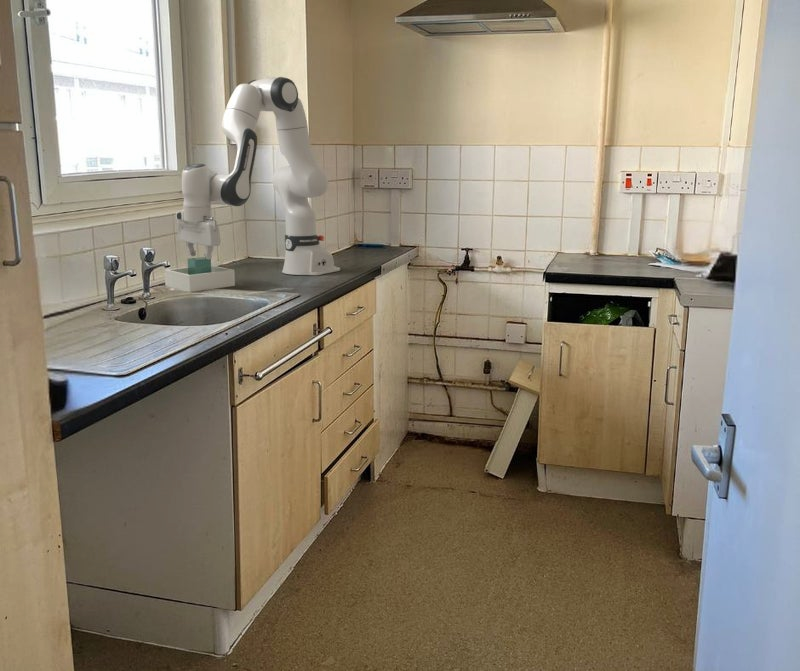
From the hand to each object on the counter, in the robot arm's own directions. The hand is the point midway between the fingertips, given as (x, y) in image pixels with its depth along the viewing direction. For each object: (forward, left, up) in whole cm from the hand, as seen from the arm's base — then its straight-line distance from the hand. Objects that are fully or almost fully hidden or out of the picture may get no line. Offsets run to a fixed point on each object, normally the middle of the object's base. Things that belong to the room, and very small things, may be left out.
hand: (200, 257), depth 261 cm
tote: (0, 0, -10) cm, 10 cm away
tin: (0, 0, -7) cm, 7 cm away
